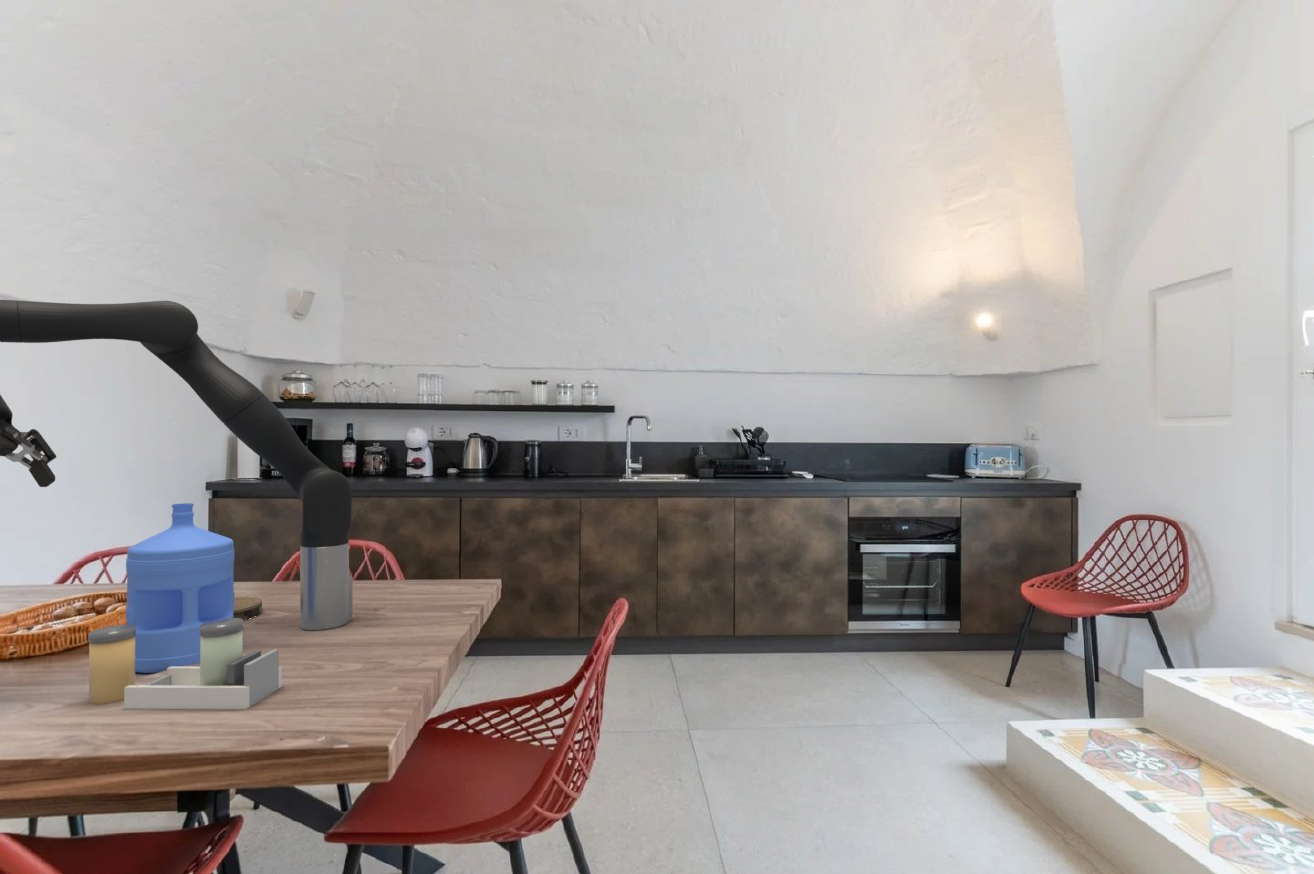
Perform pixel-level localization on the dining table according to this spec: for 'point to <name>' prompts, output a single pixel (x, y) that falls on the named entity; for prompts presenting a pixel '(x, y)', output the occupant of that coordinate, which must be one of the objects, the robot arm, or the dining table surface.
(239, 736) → the dining table surface
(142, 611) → the water jug
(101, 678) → the honey jar
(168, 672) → the jar lane
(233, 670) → the block
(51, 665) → the dining table surface
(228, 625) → the sage jar
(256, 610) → the brown round flat disc
